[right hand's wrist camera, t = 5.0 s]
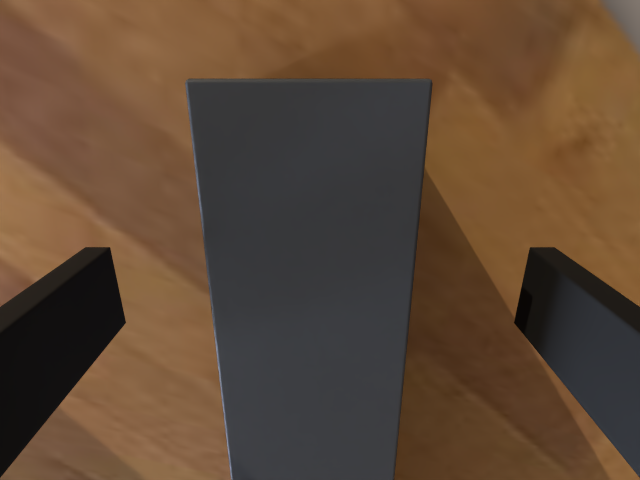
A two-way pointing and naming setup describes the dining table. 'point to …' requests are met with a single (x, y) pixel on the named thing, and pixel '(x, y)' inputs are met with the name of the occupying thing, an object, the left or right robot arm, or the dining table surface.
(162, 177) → the dining table surface
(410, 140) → the bar
